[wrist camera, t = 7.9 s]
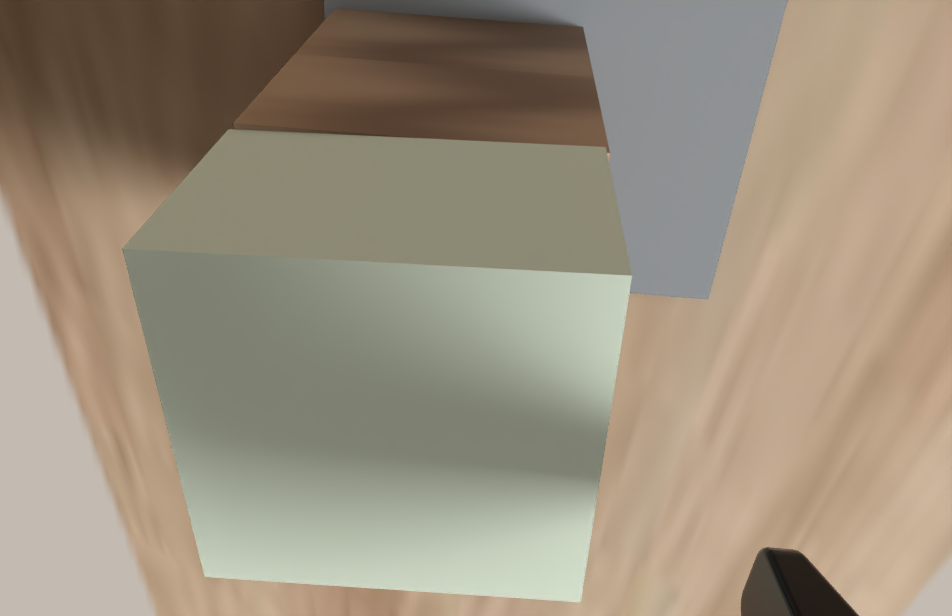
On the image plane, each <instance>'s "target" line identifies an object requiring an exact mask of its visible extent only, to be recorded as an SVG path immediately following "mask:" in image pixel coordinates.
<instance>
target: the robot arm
mask: <svg viewBox="0 0 952 616" xmlns="http://www.w3.org/2000/svg"><path fill="white" fill-rule="evenodd" d="M741 616H859V615H858V614H857V613H856V612H855V611H854V610H853V608H852V607H851V606H850V605H849V604H848V603H847V602H846V601H845V600H844V598H843V597H842V596H841V595H840V594H839V593H838V592H837V591H836V590H835V589H834V587H833V586H832V585H831V584H830V583H829V582H828V581H827V580H826V579H825V577H824V576H823V575H822V574H821V573H820V572H819V571H818V570H817V569H816V567H815V566H814V565H813V564H812V563H811V562H810V561H809V560H808V559H807V558H806V557H805V556H804V555H803V554H802V553H800V552H799V551H797V550H793V549H782V548H770V547H766V548H763V549H761V550H760V551H759V553H758V554H757V556H756V559H755V562H754V564H753V567H752V569H751V572H750V574H749V577H748V580H747V582H746V585H745V587H744V590H743V593H742V598H741Z"/></svg>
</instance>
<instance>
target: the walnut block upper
mask: <svg viewBox="0 0 952 616" xmlns="http://www.w3.org/2000/svg"><path fill="white" fill-rule="evenodd" d="M233 128H234V129H236V130H258V131H279V132H300V133H321V134H342V135H363V136H384V137H405V138H426V139H448V140H469V141H490V142H511V143H532V144H553V145H574V146H595V147H606V151H607V156H608V161H609V157H610V150H609V145H608V141H607V136H606V131H605V127H604V122H603V117H602V113H601V108H600V103H599V99H598V94H597V89H596V85H595V80H594V77H586V76H574V75H561V74H548V73H535V72H522V71H509V70H497V69H484V68H471V67H458V66H445V65H433V64H420V63H407V62H394V61H381V60H368V59H356V58H343V57H330V56H317V55H304V54H294V55H293V56H292V57H291V58H290V60H289V61H288V62H287V63H286V64H285V65H284V66H283V67H282V69H281V70H280V71H279V72H278V73H277V74H276V75H275V76H274V78H273V79H272V80H271V81H270V82H269V83H268V84H267V85H266V86H265V88H264V89H263V90H262V91H261V92H260V93H259V94H258V95H257V97H256V98H255V99H254V100H253V101H252V102H251V103H250V104H249V106H248V107H247V108H246V109H245V110H244V111H243V112H242V113H241V115H240V116H239V117H238V118H237V119H236V120H235V121H234V122H233Z"/></svg>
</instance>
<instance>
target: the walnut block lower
mask: <svg viewBox="0 0 952 616" xmlns="http://www.w3.org/2000/svg"><path fill="white" fill-rule="evenodd" d="M295 54H304V55H317V56H330V57H343V58H356V59H368V60H381V61H394V62H407V63H420V64H433V65H445V66H458V67H471V68H484V69H497V70H509V71H522V72H535V73H548V74H561V75H574V76H586V77H594V75H593V71H592V66H591V61H590V57H589V52H588V47H587V43H586V38H585V33H584V29H583V27H573V26H560V25H547V24H534V23H521V22H508V21H495V20H482V19H469V18H456V17H443V16H430V15H417V14H404V13H391V12H378V11H365V10H352V9H339V8H335V9H334V10H333V11H332V12H331V14H330V15H329V16H328V17H327V18H326V19H325V20H324V21H323V23H322V24H321V25H320V26H319V27H318V28H317V29H316V30H315V32H314V33H313V34H312V35H311V36H310V37H309V38H308V39H307V41H306V42H305V43H304V44H303V45H302V46H301V47H300V48H299V49H298V51H297V52H296V53H295Z"/></svg>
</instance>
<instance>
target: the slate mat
mask: <svg viewBox="0 0 952 616" xmlns="http://www.w3.org/2000/svg"><path fill="white" fill-rule="evenodd" d="M786 4H787V0H324V16H325V19H326V18H327V17H328V16H329V15H330V14H331V12H332V11H333V10H334V9H335V8H339V9H352V10H365V11H378V12H391V13H404V14H417V15H430V16H443V17H456V18H469V19H482V20H495V21H508V22H521V23H534V24H547V25H560V26H573V27H583V29H584V33H585V38H586V43H587V47H588V52H589V57H590V61H591V66H592V71H593V75H594V80H595V85H596V89H597V94H598V99H599V103H600V108H601V113H602V117H603V122H604V127H605V131H606V136H607V141H608V145H609V150H610V157H609V166H610V171H611V175H612V180H613V185H614V190H615V195H616V200H617V205H618V209H619V214H620V219H621V224H622V229H623V234H624V239H625V244H626V248H627V253H628V258H629V263H630V268H631V273H632V280H631V286H630V292H629V293H634V294H646V295H658V296H670V297H682V298H695V299H707V300H708V298H709V294H710V291H711V287H712V283H713V279H714V276H715V272H716V268H717V264H718V261H719V257H720V253H721V249H722V245H723V242H724V238H725V234H726V230H727V227H728V223H729V219H730V215H731V212H732V208H733V204H734V200H735V196H736V193H737V189H738V185H739V181H740V178H741V174H742V170H743V166H744V162H745V159H746V155H747V151H748V147H749V144H750V140H751V136H752V132H753V129H754V125H755V121H756V117H757V113H758V110H759V106H760V102H761V98H762V95H763V91H764V87H765V83H766V80H767V76H768V72H769V68H770V64H771V61H772V57H773V53H774V49H775V46H776V42H777V38H778V34H779V30H780V27H781V23H782V19H783V15H784V12H785V8H786Z"/></svg>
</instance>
